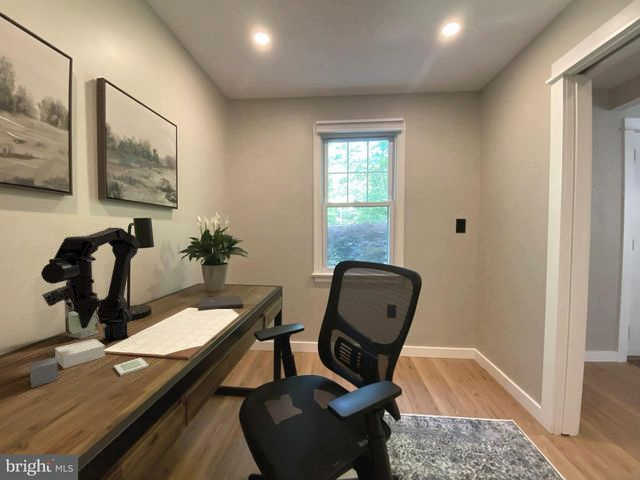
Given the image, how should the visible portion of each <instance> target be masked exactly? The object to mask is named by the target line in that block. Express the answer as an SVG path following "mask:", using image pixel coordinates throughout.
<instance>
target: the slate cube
mask: <svg viewBox="0 0 640 480" xmlns="http://www.w3.org/2000/svg"><path fill="white" fill-rule="evenodd" d="M58 364H59V363H58V362H57V360H56V358H55V356H53V357H49V358H46V359H45V358H44V359H41V360H38V361H34V362H30V363H29V378H30V386H31V388H36V387H40V386H43V385H46V384H50V383H53V382H56V381H59V375H58V374H59V367H58Z"/></svg>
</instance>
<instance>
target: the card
mask: <svg viewBox="0 0 640 480" xmlns="http://www.w3.org/2000/svg"><path fill="white" fill-rule="evenodd" d="M113 368H114V369H115V371H116V372H117V373H118V374H119V376H121V377H122V376H125V375H127V374H131V373H134V372H136V371H140V370H142V369H146V368H149V364H148V363H147V362H146V361H145V360H144V359H143V358H142V357H138V358H135V359H132V360H129V361H125V362H121V363H119V364H115V365H114V366H113Z"/></svg>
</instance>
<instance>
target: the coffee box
mask: <svg viewBox="0 0 640 480" xmlns="http://www.w3.org/2000/svg"><path fill="white" fill-rule="evenodd" d="M94 296H95V297H96V298H98V293H97V292H94ZM90 297H91V296H90ZM66 302H69V299H67V301H64V319H65V320H64V321H65V322H64V323H65V337H71V338H76V339H85V338H87V337H90V336H91V337H92V336H93V335H97V334H99V328H98V327H99V325H98V323H99V321H98V320H99V318H98V315H97V312H98V311H97V310H98V308H96V310H95V329H92V330H88V331H83V332H79V333H74V334H72V333H71V331H70V330H69V318H68V312H72V309H71V308H72V307H70V306H68V305H67V304H66Z"/></svg>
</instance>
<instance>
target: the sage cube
mask: <svg viewBox="0 0 640 480" xmlns="http://www.w3.org/2000/svg"><path fill="white" fill-rule="evenodd" d="M68 318H69V330H70V331H71V333H72V334H74V333H79V332H83V331H88V330H92V329H95V312H94V314H93V316H92V318H91V320H90V322H89V324H88V326H87V328H83V329H82V327H81V324H80V320H79V316H78V313H76V312H74V311H72V312H68Z"/></svg>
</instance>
